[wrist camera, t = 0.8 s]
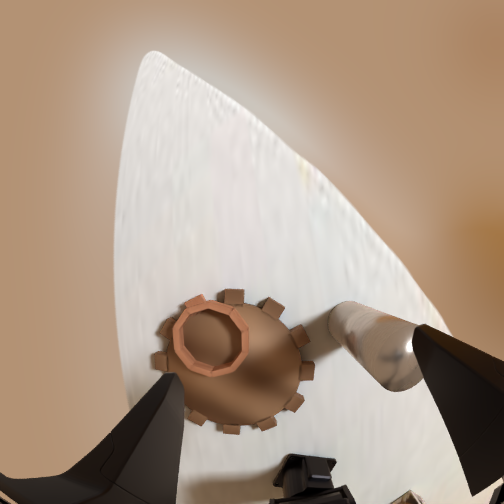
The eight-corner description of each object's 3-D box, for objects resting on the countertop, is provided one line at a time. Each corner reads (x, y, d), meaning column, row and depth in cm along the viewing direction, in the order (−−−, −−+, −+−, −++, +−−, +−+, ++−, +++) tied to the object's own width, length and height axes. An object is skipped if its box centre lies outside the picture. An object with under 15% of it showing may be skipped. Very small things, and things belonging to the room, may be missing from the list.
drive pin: (358, 345, 26) (418, 394, 13) (322, 336, 26) (364, 387, 13) (372, 306, 26) (443, 331, 13) (335, 296, 27) (391, 318, 14)
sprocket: (282, 441, 26) (283, 454, 23) (148, 400, 27) (139, 409, 24) (333, 315, 26) (340, 320, 24) (180, 268, 27) (171, 268, 25)
